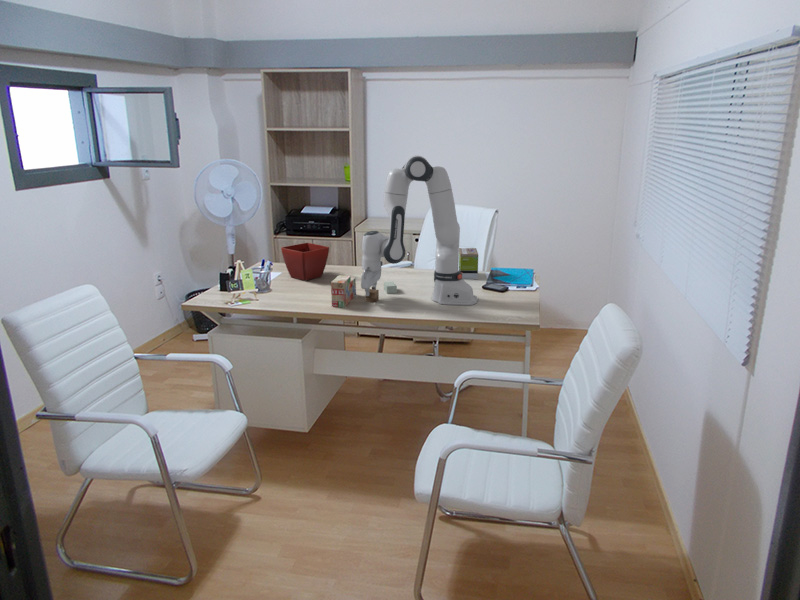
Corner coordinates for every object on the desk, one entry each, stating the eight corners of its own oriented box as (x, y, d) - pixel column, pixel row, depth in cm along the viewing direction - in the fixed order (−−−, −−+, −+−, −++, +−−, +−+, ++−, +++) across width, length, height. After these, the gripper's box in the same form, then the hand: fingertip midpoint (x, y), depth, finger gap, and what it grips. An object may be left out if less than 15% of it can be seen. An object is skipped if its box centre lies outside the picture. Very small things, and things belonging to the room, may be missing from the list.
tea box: (458, 272, 338) (458, 247, 333) (475, 273, 337) (476, 247, 333) (459, 279, 323) (460, 253, 319) (477, 280, 323) (479, 253, 318)
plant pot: (308, 270, 340) (307, 242, 335) (331, 276, 328) (330, 246, 323) (281, 277, 326) (280, 247, 321) (304, 283, 314) (303, 252, 309)
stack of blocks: (344, 294, 296) (343, 270, 293) (356, 294, 295) (355, 271, 291) (331, 307, 276) (330, 281, 272) (344, 307, 275) (343, 282, 271)
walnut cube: (378, 299, 287) (378, 289, 286) (375, 302, 283) (375, 292, 281) (368, 298, 289) (368, 289, 287) (365, 301, 284) (365, 291, 282)
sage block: (393, 289, 306) (393, 281, 304) (396, 293, 298) (396, 285, 297) (383, 289, 305) (383, 282, 303) (387, 294, 297) (386, 286, 296)
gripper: (370, 271, 270) (370, 299, 275) (383, 261, 289) (383, 288, 293) (357, 269, 272) (357, 298, 276) (371, 260, 291) (371, 286, 295)
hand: (370, 293), depth 285 cm, fingers open, 8 cm apart
